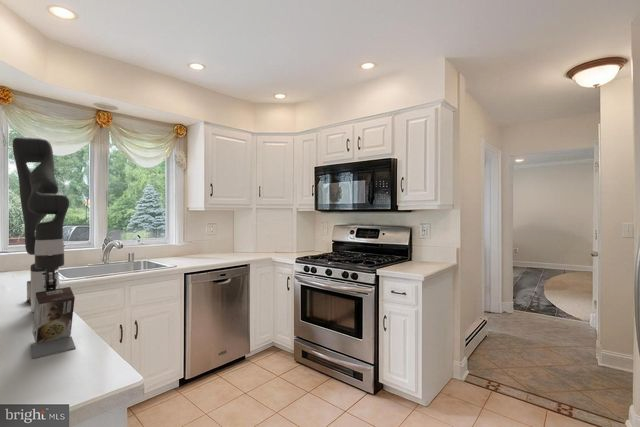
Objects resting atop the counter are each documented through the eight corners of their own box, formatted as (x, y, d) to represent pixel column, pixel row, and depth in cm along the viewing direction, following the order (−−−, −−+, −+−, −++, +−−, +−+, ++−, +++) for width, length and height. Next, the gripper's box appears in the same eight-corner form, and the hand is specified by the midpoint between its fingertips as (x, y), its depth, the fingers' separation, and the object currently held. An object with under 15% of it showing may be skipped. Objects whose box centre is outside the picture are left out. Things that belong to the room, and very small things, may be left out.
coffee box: (66, 324, 112) (71, 286, 107) (70, 336, 108) (76, 297, 104) (31, 332, 105) (35, 291, 100) (35, 345, 101) (39, 303, 97)
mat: (31, 346, 100) (31, 345, 100) (71, 337, 107) (71, 336, 107) (32, 359, 92) (32, 357, 92) (75, 348, 98) (75, 347, 98)
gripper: (34, 252, 109) (35, 302, 109) (35, 255, 99) (35, 311, 99) (62, 250, 114) (63, 298, 114) (65, 253, 104) (66, 306, 104)
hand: (50, 304), depth 107 cm, fingers closed
